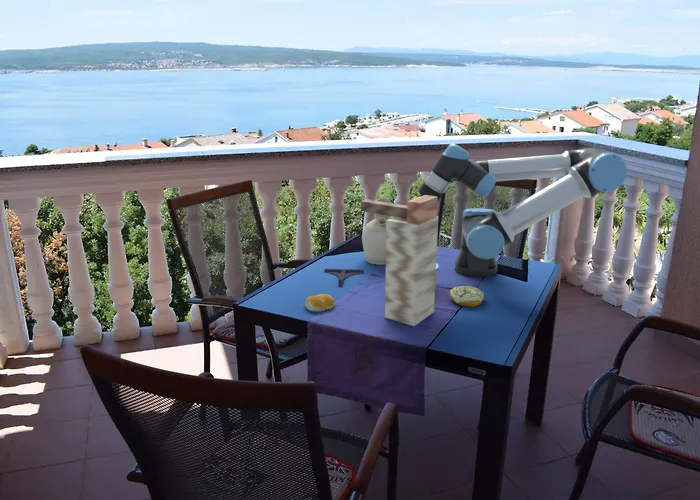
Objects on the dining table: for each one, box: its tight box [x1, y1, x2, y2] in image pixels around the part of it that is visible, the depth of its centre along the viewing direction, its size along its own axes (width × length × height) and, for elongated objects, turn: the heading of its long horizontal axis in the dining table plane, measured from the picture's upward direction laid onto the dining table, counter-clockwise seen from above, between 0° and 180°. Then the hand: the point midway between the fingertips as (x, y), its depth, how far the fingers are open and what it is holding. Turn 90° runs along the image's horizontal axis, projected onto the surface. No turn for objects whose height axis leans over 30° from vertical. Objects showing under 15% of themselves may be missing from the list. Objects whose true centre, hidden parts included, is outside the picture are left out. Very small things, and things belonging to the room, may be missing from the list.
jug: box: [361, 196, 392, 266], centre depth 210 cm, size 15×16×25 cm
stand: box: [384, 215, 439, 327], centre depth 161 cm, size 10×12×30 cm
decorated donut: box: [449, 285, 485, 308], centre depth 175 cm, size 10×11×4 cm
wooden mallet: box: [360, 195, 439, 225], centre depth 159 cm, size 22×10×6 cm, turn 54°
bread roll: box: [304, 293, 335, 312], centre depth 171 cm, size 8×9×4 cm
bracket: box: [323, 268, 365, 287], centre depth 195 cm, size 14×15×3 cm
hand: (398, 239), depth 187 cm, fingers open, 13 cm apart
